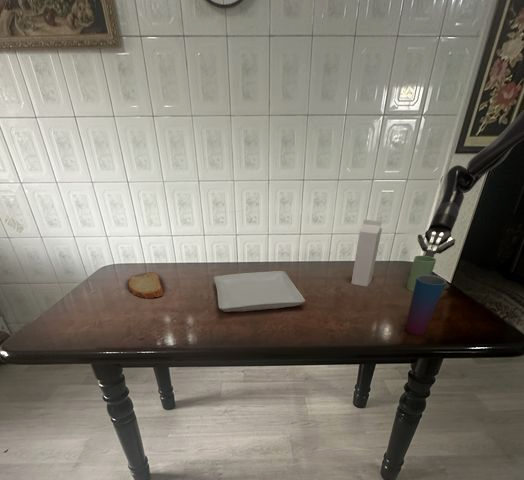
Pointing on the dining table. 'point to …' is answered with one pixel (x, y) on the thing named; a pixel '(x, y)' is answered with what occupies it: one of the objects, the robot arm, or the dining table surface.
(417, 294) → the cup
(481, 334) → the dining table surface
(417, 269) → the green cup
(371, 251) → the milk
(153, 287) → the bread slice
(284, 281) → the square plate
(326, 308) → the dining table surface
